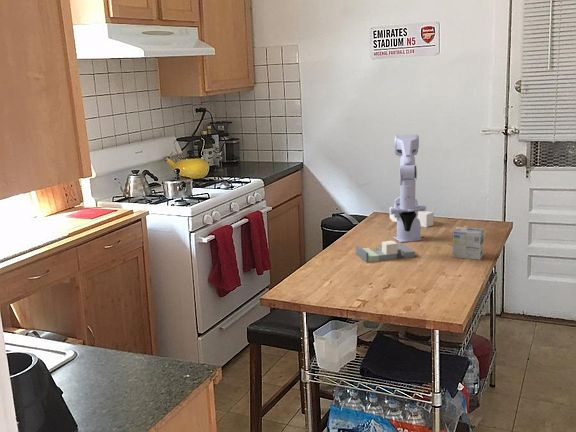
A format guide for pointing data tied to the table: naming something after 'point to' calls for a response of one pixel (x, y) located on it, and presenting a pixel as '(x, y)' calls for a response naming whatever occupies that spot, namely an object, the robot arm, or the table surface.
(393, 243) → the block
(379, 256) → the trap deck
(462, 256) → the light bulb box
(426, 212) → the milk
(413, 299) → the table surface
